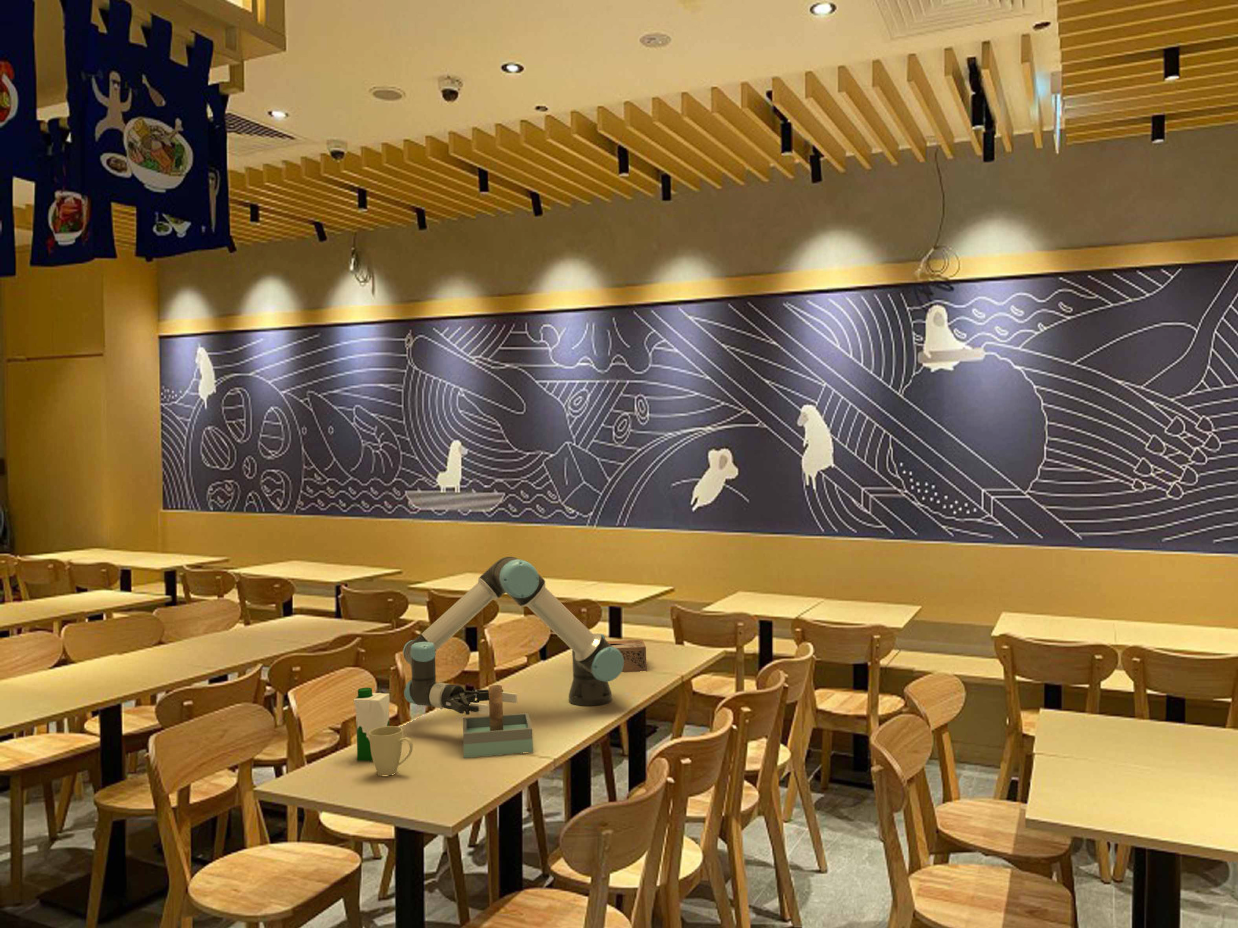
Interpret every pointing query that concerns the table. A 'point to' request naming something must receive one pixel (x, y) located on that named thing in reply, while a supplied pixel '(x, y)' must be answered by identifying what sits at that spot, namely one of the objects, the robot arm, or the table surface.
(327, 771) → the table surface
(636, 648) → the tissue box cover
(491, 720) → the peg
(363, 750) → the milk carton
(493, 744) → the box
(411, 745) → the mug
